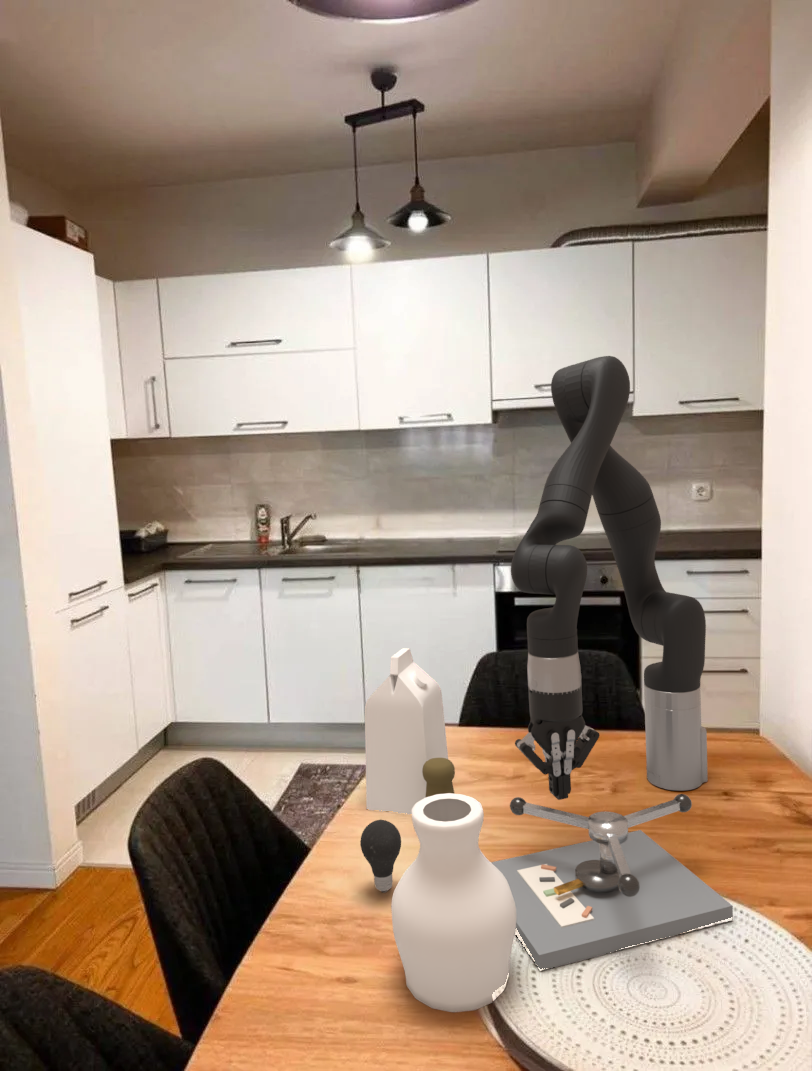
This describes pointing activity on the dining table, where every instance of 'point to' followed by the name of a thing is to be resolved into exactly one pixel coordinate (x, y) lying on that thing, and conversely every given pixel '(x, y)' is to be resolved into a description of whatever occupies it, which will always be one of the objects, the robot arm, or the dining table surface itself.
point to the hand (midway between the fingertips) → (560, 796)
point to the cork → (438, 776)
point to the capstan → (604, 843)
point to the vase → (452, 909)
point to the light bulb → (381, 851)
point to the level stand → (605, 902)
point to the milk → (402, 735)
